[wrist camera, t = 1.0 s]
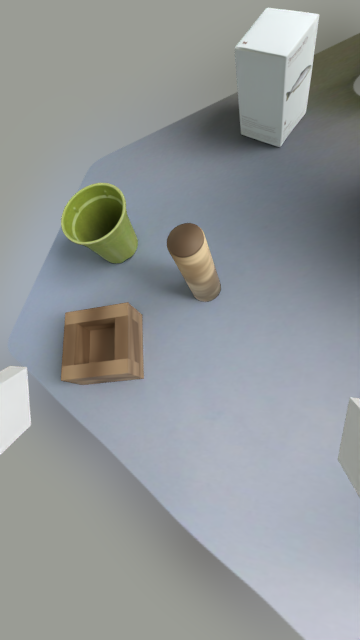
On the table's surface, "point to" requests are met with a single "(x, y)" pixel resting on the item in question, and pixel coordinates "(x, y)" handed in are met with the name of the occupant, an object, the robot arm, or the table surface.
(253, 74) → the supplement box
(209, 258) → the dowel
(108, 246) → the plant pot
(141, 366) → the socket block
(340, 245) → the table surface
